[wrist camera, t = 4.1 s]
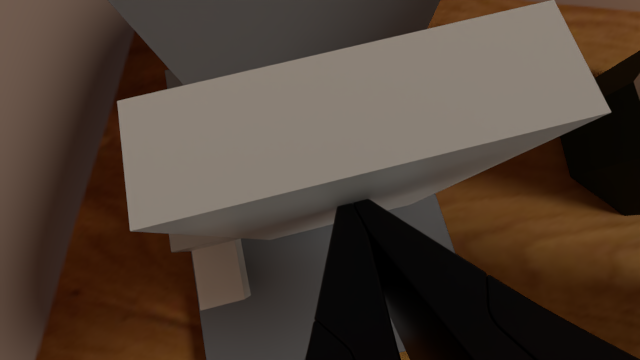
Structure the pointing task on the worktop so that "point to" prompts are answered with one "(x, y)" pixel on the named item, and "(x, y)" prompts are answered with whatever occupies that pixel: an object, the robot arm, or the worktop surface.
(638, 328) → the worktop surface
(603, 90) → the wine bottle
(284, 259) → the base
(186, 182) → the white tall block
